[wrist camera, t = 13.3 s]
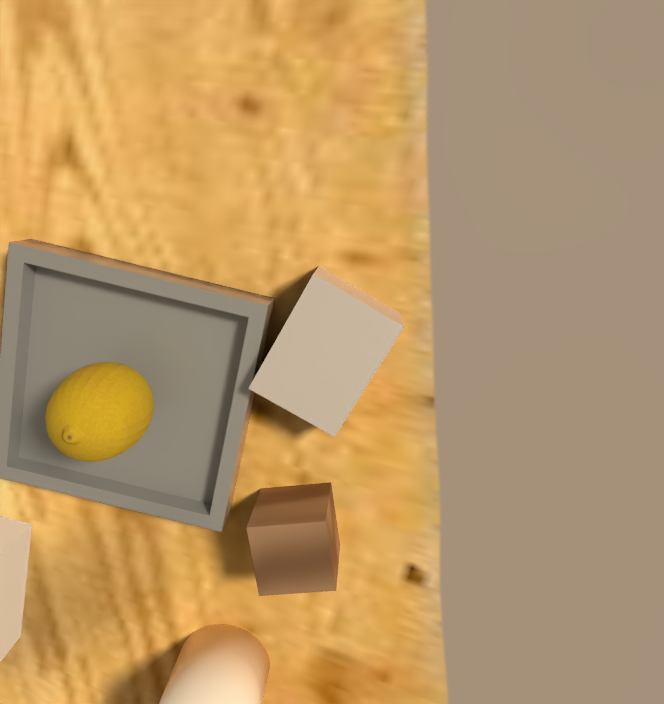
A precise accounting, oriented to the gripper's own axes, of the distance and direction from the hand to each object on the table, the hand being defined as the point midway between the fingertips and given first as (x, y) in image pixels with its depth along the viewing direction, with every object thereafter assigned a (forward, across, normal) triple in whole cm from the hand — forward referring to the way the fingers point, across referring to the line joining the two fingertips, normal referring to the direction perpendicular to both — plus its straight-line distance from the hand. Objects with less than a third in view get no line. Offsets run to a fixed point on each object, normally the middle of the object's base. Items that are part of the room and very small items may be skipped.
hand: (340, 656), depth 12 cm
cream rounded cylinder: (+27, -4, -28) cm, 39 cm away
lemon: (+26, -14, -7) cm, 30 cm away
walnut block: (+27, -1, -14) cm, 30 cm away
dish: (+27, -14, -7) cm, 31 cm away
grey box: (+27, -2, -1) cm, 27 cm away
